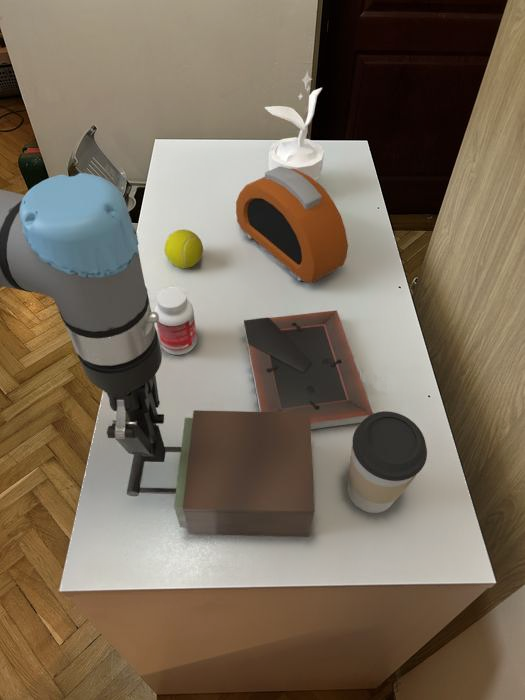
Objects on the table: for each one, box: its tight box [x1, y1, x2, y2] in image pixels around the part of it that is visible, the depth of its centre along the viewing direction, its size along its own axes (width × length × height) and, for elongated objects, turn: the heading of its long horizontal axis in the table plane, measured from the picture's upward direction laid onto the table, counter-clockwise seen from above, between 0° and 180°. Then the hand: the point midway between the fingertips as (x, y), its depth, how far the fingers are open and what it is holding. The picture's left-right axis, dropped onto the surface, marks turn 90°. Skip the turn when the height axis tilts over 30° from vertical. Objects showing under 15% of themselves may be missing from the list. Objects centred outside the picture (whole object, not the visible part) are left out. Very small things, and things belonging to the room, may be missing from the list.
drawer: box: [126, 417, 193, 528], centre depth 71 cm, size 21×13×7 cm, turn 89°
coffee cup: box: [347, 410, 428, 514], centre depth 69 cm, size 9×9×15 cm
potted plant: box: [264, 69, 325, 181], centre depth 108 cm, size 13×12×25 cm
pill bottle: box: [154, 286, 198, 356], centre depth 86 cm, size 6×6×11 cm
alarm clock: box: [235, 166, 349, 284], centre depth 99 cm, size 23×9×17 cm, turn 38°
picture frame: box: [243, 309, 374, 430], centre depth 86 cm, size 16×2×22 cm
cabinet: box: [183, 409, 316, 538], centre depth 71 cm, size 16×14×9 cm
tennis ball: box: [164, 229, 204, 269], centre depth 100 cm, size 7×7×7 cm
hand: (154, 456), depth 68 cm, fingers closed
